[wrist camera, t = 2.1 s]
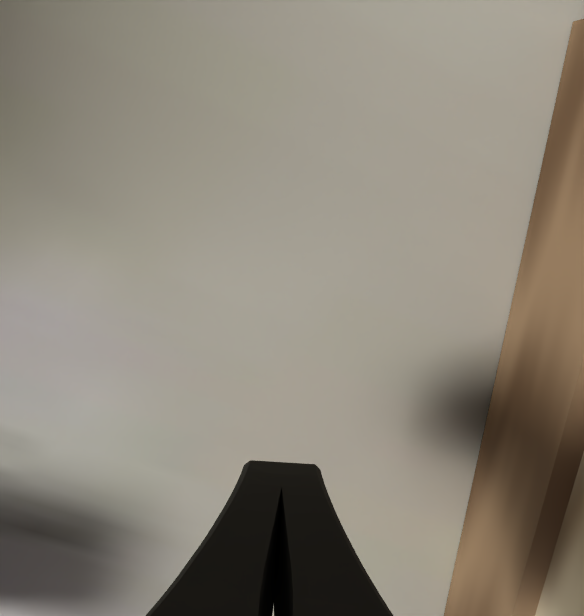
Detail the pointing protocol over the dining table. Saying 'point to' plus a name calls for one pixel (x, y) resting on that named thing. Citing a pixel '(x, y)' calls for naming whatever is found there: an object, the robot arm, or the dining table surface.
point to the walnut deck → (533, 387)
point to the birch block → (567, 560)
